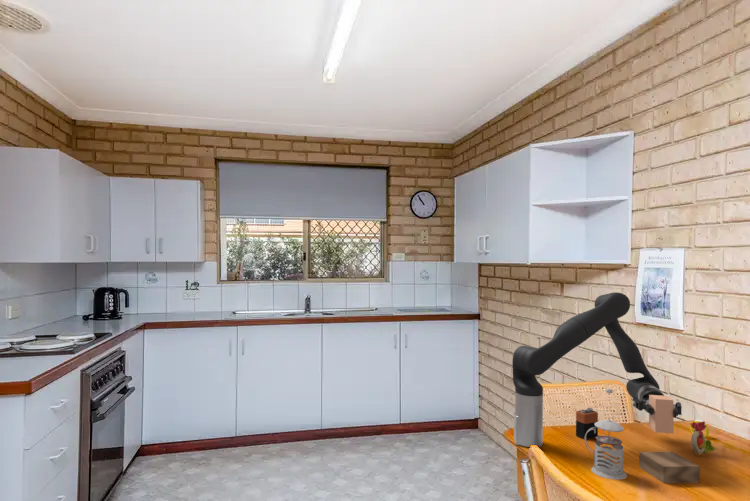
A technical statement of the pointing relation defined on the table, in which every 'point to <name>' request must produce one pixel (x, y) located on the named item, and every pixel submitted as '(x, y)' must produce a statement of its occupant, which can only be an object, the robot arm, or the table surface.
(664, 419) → the terracotta block
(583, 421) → the battery
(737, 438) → the table surface
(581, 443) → the table surface
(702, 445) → the bird rattle
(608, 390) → the french press
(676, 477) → the walnut block
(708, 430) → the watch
